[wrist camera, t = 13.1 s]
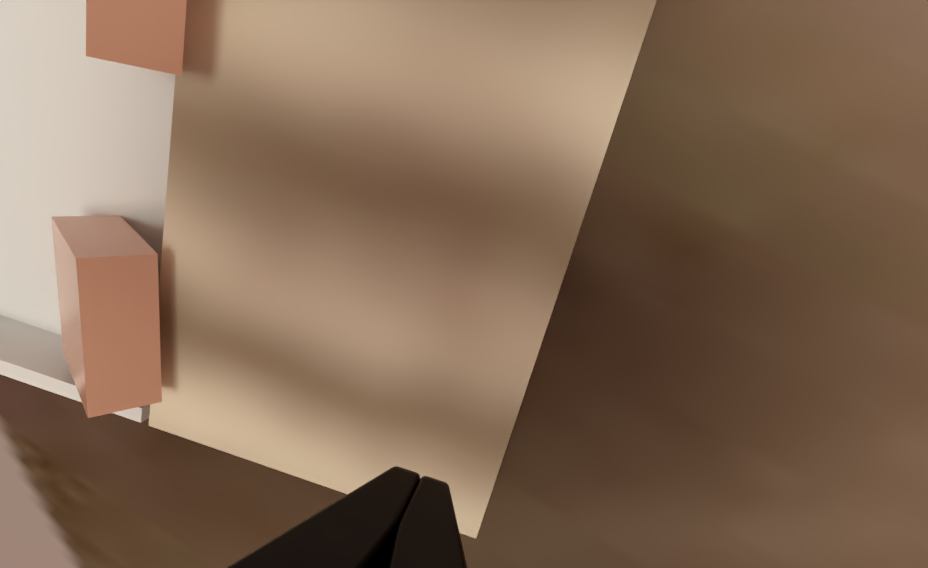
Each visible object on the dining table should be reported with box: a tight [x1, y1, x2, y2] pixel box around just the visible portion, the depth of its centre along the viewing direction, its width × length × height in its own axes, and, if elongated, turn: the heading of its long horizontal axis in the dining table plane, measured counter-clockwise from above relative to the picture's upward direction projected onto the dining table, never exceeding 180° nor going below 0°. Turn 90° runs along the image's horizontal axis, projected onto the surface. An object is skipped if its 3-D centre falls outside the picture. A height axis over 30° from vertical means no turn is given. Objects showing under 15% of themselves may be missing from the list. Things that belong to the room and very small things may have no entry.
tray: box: [0, 0, 175, 423], centre depth 18 cm, size 20×9×3 cm, turn 165°
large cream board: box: [149, 0, 657, 538], centre depth 17 cm, size 20×12×3 cm, turn 165°
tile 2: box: [51, 216, 162, 418], centre depth 18 cm, size 5×5×2 cm
